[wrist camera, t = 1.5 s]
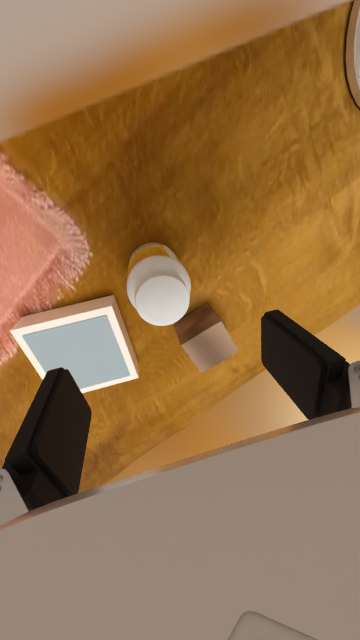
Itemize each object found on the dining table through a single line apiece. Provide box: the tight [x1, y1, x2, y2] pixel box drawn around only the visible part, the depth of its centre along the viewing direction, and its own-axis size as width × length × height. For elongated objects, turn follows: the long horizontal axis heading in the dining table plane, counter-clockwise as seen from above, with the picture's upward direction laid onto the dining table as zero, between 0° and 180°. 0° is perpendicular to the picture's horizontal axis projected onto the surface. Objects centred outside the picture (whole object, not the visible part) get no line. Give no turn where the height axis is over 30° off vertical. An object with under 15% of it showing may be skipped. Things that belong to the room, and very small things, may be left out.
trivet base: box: [10, 295, 139, 393], centre depth 26 cm, size 10×10×3 cm
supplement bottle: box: [127, 243, 191, 326], centre depth 20 cm, size 5×5×10 cm
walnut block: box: [174, 302, 239, 373], centre depth 27 cm, size 5×5×5 cm
